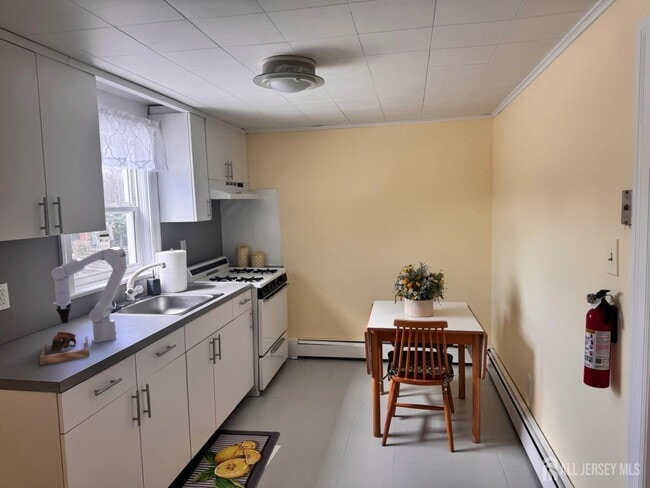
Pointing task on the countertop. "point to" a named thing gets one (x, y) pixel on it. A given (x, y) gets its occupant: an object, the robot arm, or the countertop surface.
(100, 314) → the robot arm
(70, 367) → the countertop surface
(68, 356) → the wooden bracket
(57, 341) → the brown jagged ring
